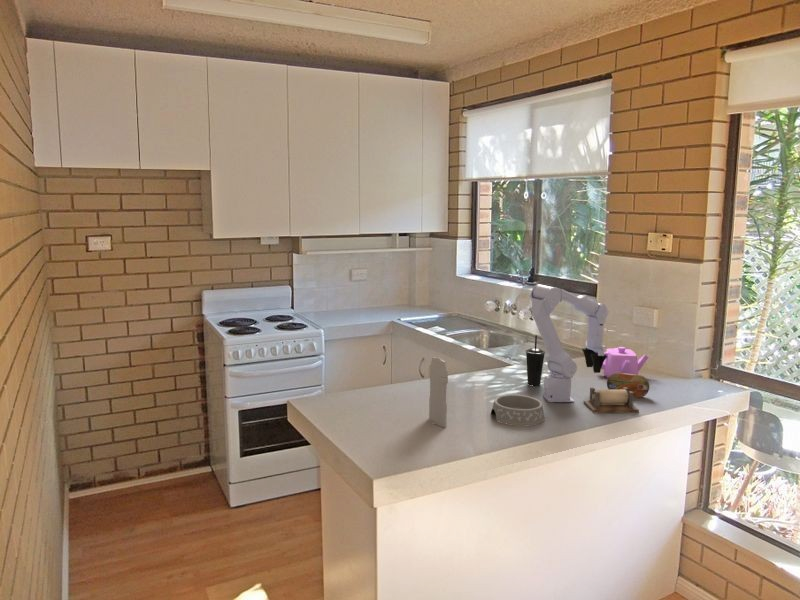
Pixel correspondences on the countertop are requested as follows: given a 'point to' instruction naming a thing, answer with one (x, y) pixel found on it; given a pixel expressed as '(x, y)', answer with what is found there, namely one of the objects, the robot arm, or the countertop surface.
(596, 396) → the holder
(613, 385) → the tin
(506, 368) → the countertop surface
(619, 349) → the teakettle
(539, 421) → the dog bowl
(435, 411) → the dispenser
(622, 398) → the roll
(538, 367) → the drinking cup
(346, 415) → the countertop surface
